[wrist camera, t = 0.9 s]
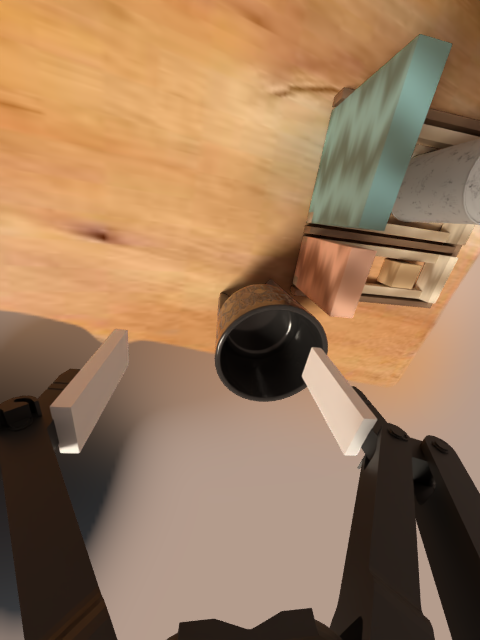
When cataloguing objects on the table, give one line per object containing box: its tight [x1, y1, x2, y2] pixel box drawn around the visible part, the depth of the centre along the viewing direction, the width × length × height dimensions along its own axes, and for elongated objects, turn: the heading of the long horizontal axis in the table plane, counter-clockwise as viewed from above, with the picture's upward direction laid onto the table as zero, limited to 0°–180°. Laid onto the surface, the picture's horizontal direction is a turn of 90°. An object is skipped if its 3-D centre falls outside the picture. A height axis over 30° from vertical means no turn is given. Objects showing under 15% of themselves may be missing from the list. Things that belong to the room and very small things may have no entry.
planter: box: [215, 279, 328, 402], centre depth 33 cm, size 13×13×18 cm
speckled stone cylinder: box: [391, 138, 480, 225], centre depth 31 cm, size 10×10×12 cm
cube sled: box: [293, 236, 458, 318], centre depth 34 cm, size 8×26×14 cm, turn 83°
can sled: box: [306, 34, 480, 245], centre depth 29 cm, size 14×26×14 cm, turn 83°
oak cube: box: [376, 259, 422, 289], centre depth 40 cm, size 4×4×4 cm
